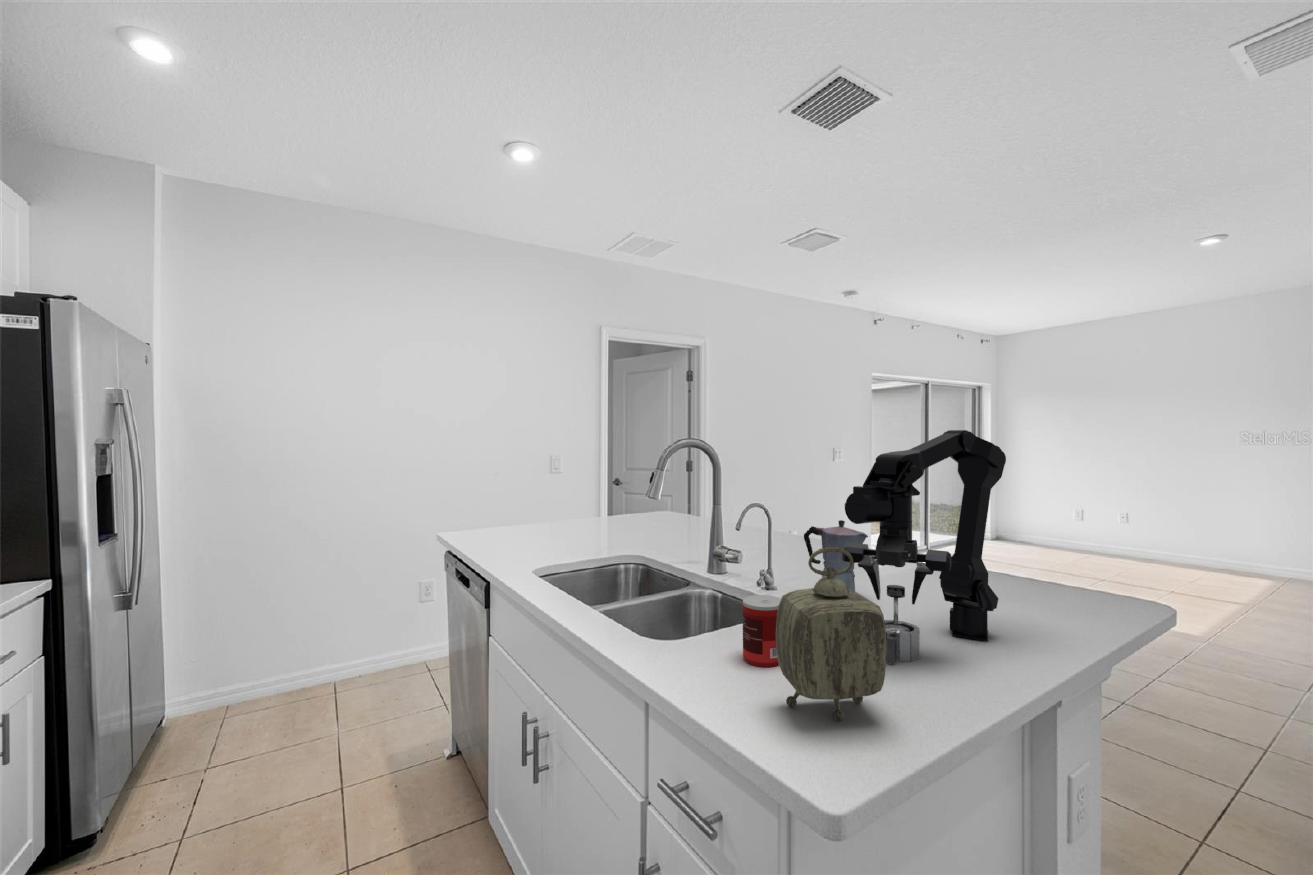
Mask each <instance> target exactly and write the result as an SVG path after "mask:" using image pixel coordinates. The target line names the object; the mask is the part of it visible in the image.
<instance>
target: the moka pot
mask: <svg viewBox="0 0 1313 875" xmlns="http://www.w3.org/2000/svg"><path fill="white" fill-rule="evenodd" d="M837 522H838V526H833V527H831V526H830V527H826V528H825V527H816V526H812V525H811V526H810V527H809V528H808V529H807V530H806V531H805V533H803V540H804V542H805V546H806V548H807V553H808V556H809V557H810V556H811V555H812V554H813V553H814V552H813V547H812V544H811V538H810V535H812V534H813V535H815V536H821V538H820V539H821V549H822V548H827V547H836V548H842V549H844V548H845V547H846V546H847V545H848V544H850V543H859V544H864V542H865V541H866V539H867V538H868V537H869V535H868V534H866V533H865V532H862V531H858V530H855V529H852V528H849V527H845V522H846V521H845V520H843V519H842V520H841V519H840V520H838V521H837ZM822 559H823V560H824V561H823V566H824V567H823V570H822V571H827V567H828V566H833V567H834V568H835V571H837V570H841V569H844V568H846V567H847V566H849V564H850V562H845V561H843V553H841V552H825V553H822ZM821 562H822V561H821V560H820V559H816V558H815V557H814V559H813V560H812V564H816V565H820V564H821ZM854 570H855V563H854V562H853V565H852V567H851V568H850V569H849V570H848V571H847V572H845V573H843V574H841V575H836V576H835V577H837V578H839V579H841V580H842V581H843V582H844V583H845V584H846V585H847V587H848V589H849V590H852V591H854V592H856V582H855V577H856V574H855V572H854ZM822 577H827V576H824V575H821V578H822Z"/></svg>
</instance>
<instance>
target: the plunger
mask: <svg viewBox="0 0 1313 875" xmlns="http://www.w3.org/2000/svg"><path fill="white" fill-rule="evenodd" d="M905 588H906V587H905V586H904V585H903V586H902V585H900V584H899V585H898V584H888V585H886V596H888V597H890V598H893V620H894V624H898V621H899V599H903V598H905V597H906V589H905ZM885 627H886V630H887V631H891V632H897V633H908V632H910V630H909V629H908V628H907V627H904V626H900V625H885Z"/></svg>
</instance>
